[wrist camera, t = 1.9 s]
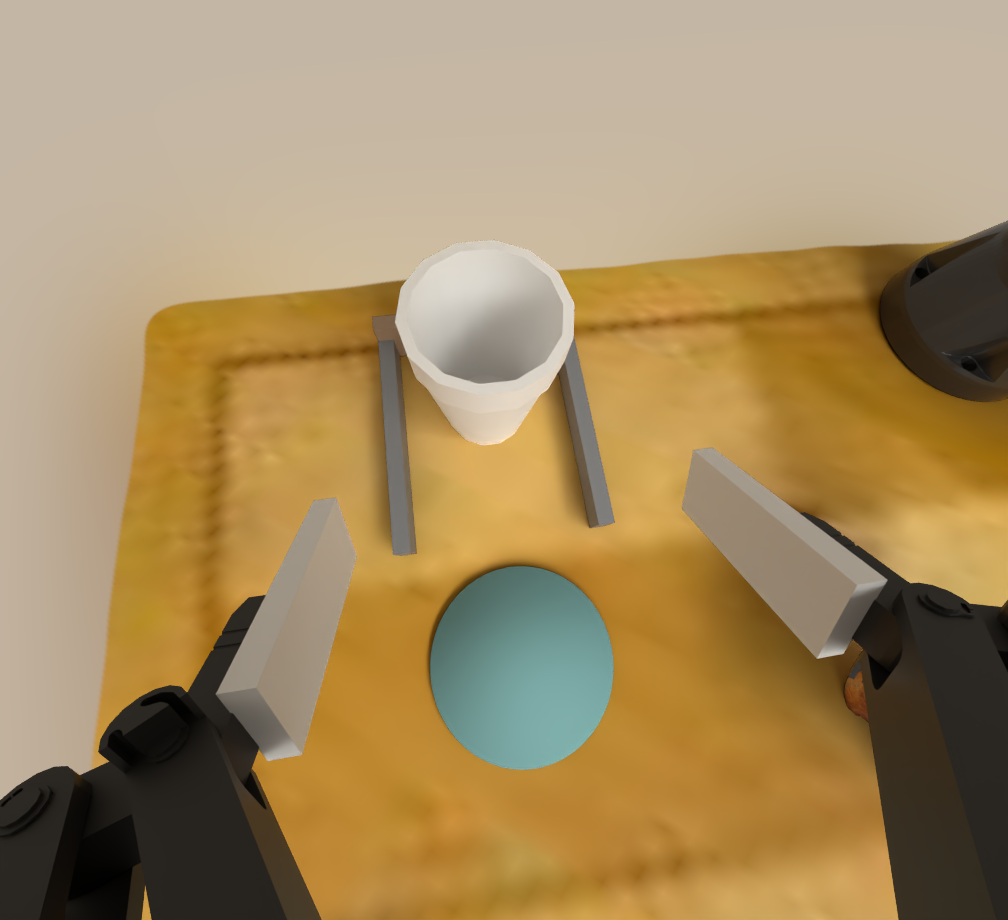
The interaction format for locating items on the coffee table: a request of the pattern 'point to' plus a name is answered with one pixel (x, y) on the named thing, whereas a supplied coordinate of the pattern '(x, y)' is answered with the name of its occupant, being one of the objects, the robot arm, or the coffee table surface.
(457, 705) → the teal mat
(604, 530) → the coffee table surface
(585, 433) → the cup lane
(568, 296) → the foam cup
